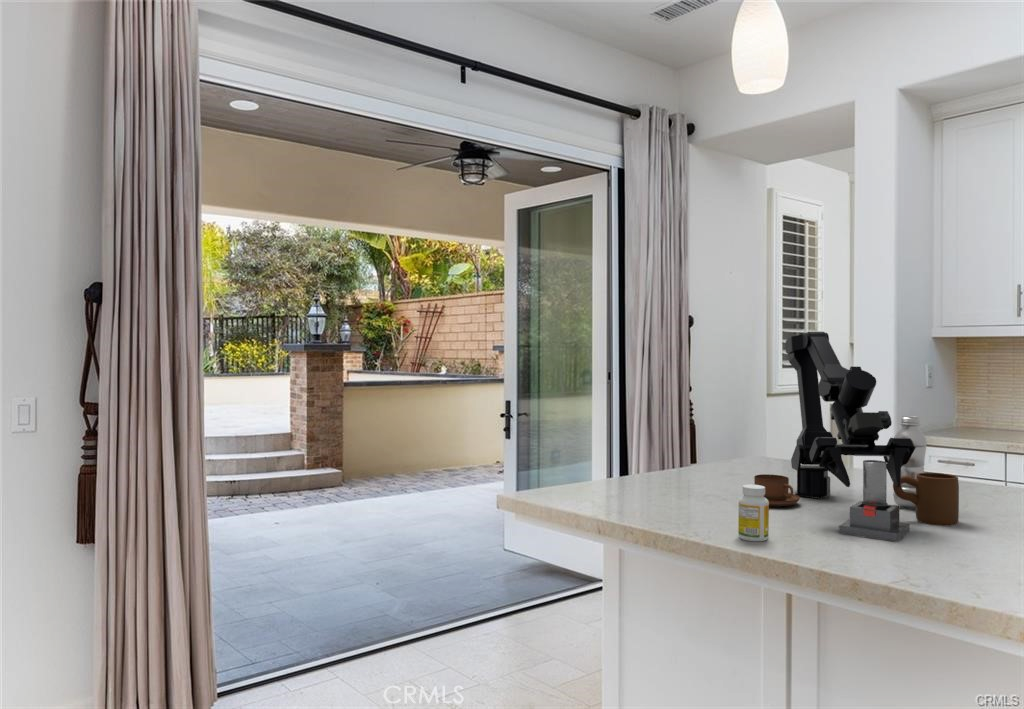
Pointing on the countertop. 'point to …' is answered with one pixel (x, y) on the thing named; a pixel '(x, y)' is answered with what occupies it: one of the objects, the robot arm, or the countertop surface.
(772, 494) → the cup and saucer
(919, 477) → the mug
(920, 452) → the plastic bottle
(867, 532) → the stand sleeve
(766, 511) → the supplement bottle
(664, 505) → the countertop surface
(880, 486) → the grey ridged cylinder
